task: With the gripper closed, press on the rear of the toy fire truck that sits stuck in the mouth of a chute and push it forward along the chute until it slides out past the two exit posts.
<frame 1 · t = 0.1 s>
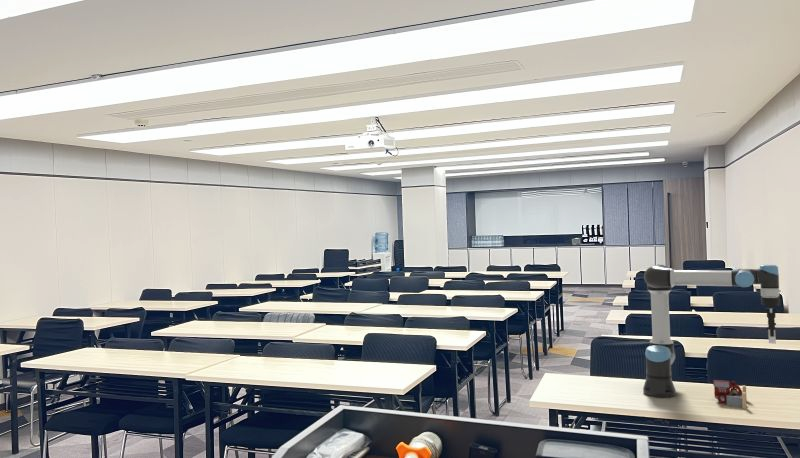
hand: (772, 341, 273), 28 cm above the table, fingers open, 13 cm apart
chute: (736, 403, 268), on the table
toy fire truck: (728, 403, 269), on the table
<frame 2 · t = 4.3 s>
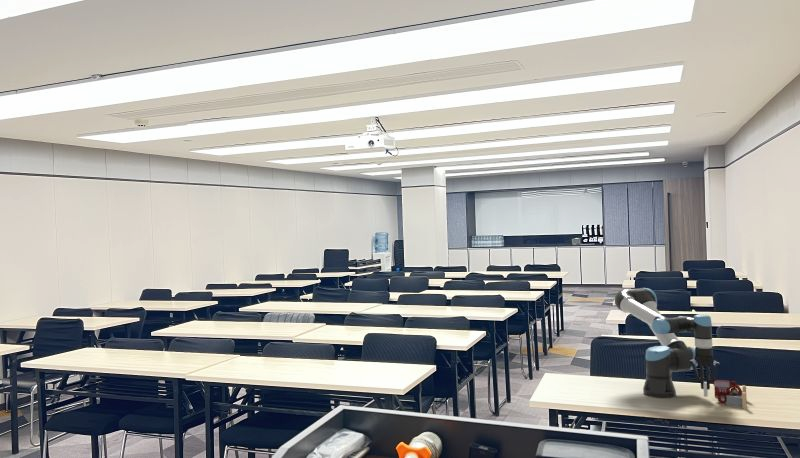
hand: (705, 395, 274), 2 cm above the table, fingers closed
toy fire truck: (728, 403, 269), on the table, touching gripper
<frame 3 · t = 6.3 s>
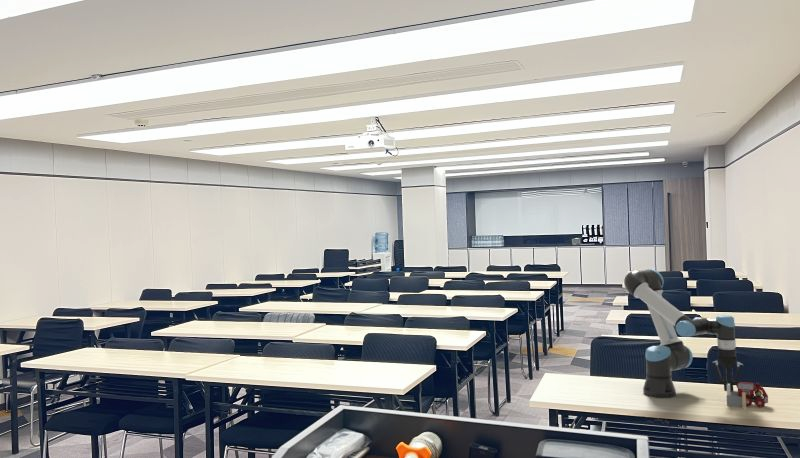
hand: (729, 398, 269), 2 cm above the table, fingers closed
toy fire truck: (752, 405, 264), on the table, touching gripper
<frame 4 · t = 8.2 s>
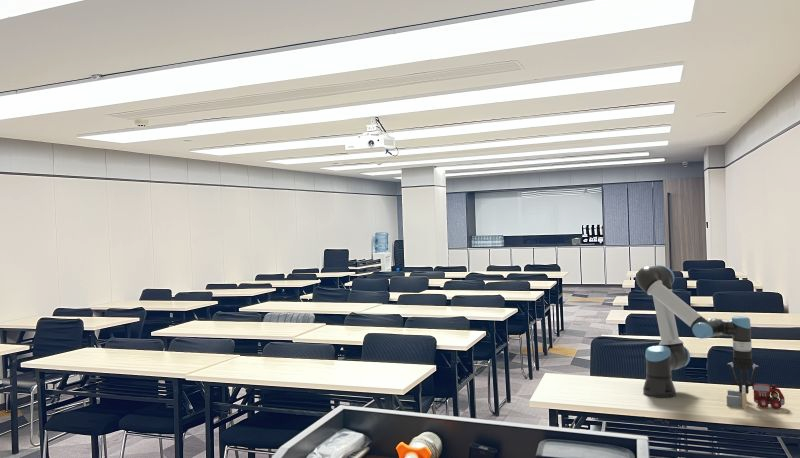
hand: (744, 400, 266), 2 cm above the table, fingers closed
toy fire truck: (768, 407, 261), on the table, touching gripper
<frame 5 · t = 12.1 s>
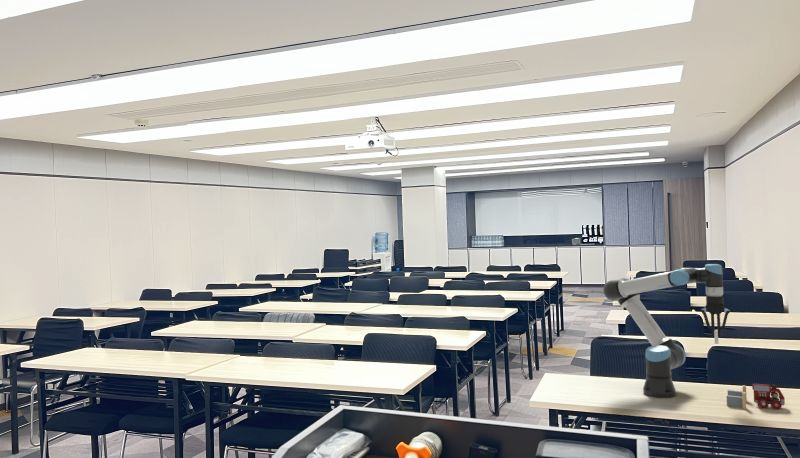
hand: (716, 343, 279), 26 cm above the table, fingers closed
toy fire truck: (768, 407, 261), on the table
at the end: toy fire truck inside the target area (0.4 cm from its centre), on the table; toy fire truck tilted 0°; toy fire truck touching table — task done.
